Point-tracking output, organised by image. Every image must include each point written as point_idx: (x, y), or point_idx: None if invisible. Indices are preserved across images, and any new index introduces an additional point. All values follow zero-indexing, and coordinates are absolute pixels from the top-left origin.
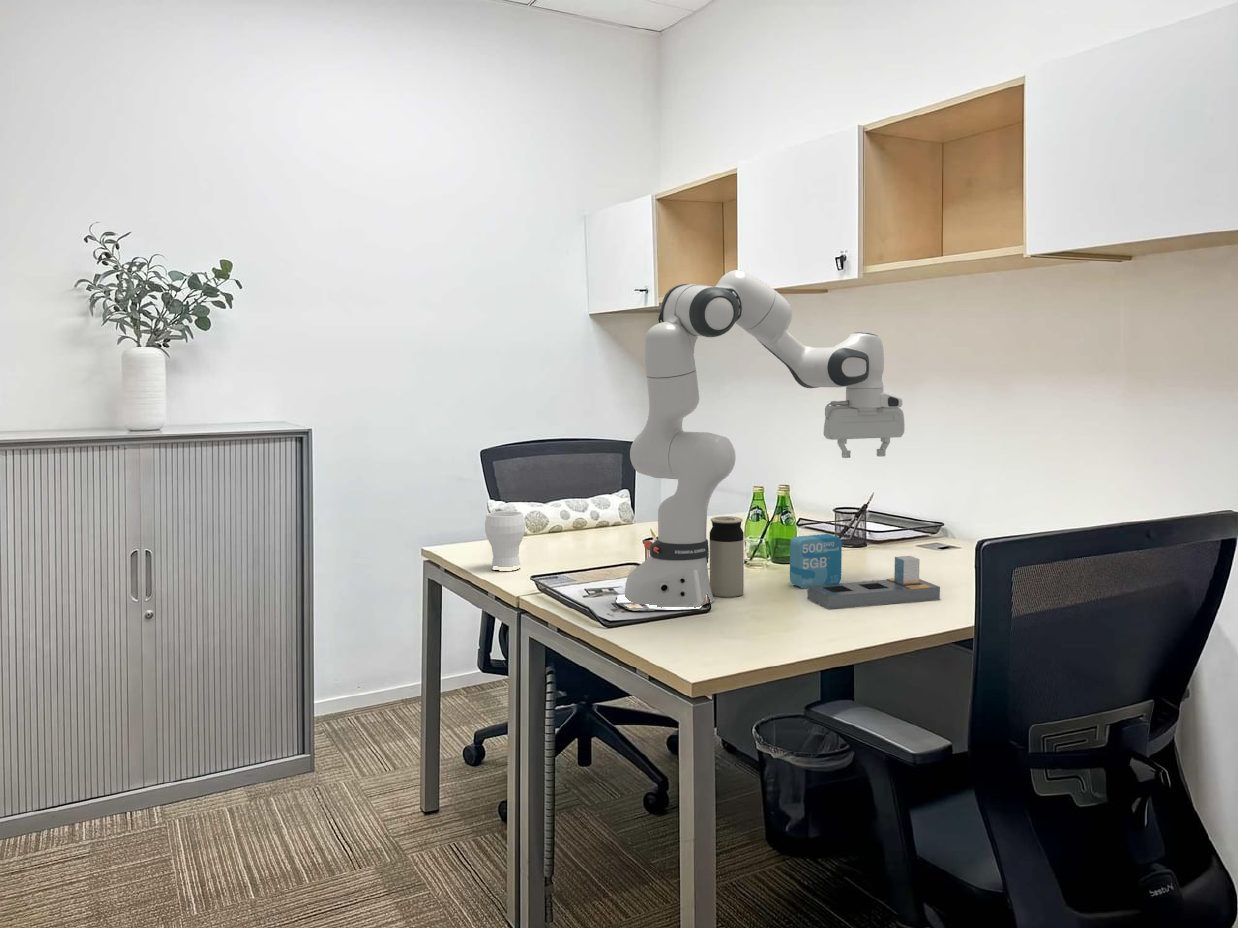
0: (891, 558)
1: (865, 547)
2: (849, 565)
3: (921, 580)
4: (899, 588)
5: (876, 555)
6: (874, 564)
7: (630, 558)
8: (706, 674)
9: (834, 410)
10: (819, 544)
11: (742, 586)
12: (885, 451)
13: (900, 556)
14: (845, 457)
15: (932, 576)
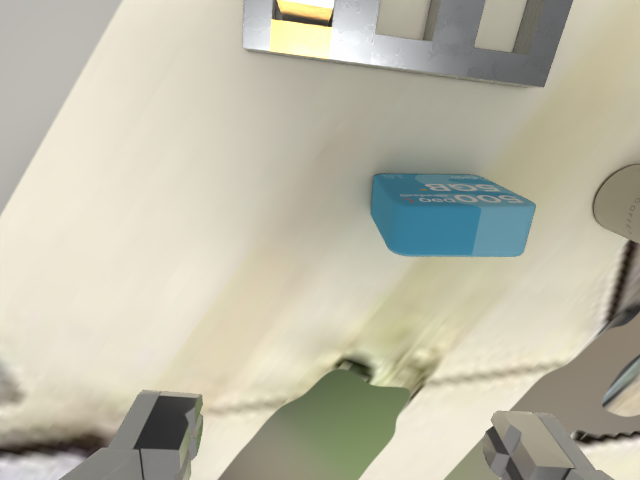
0: (131, 329)
1: None
2: (251, 308)
3: (249, 4)
4: None
5: (148, 359)
6: (196, 298)
7: None
8: None
9: None
10: (468, 200)
11: (630, 176)
12: (121, 425)
13: (313, 3)
14: (543, 414)
15: (130, 154)
